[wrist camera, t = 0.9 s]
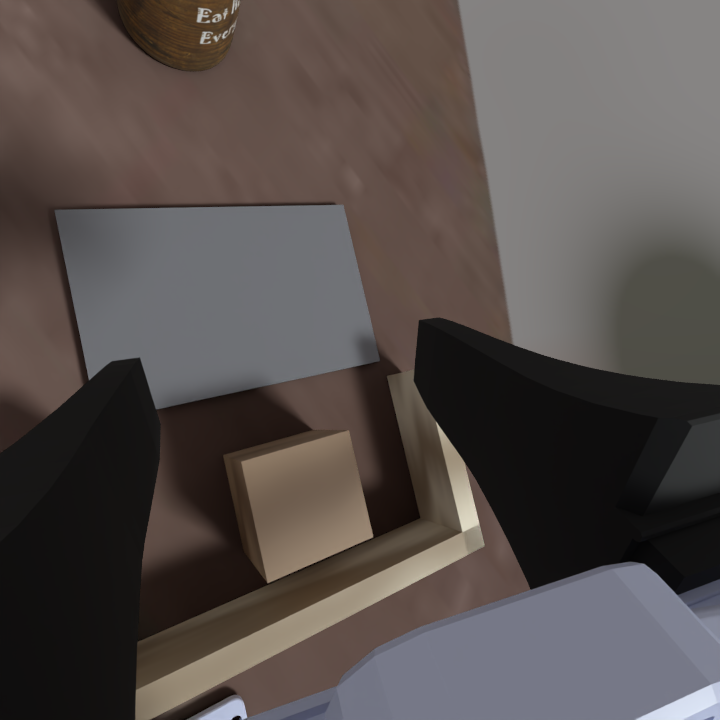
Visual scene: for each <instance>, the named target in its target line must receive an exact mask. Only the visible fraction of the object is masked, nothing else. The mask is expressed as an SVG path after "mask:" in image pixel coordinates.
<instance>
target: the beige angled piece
mask: <svg viewBox="0 0 720 720" xmlns="http://www.w3.org/2000/svg"><path fill="white" fill-rule="evenodd" d="M387 379H388V383H389V388H390V392H391V396H392V400H393V404H394V409H395V413H396V417H397V421H398V426H399V430H400V434H401V438H402V442H403V447H404V451H405V455H406V459H407V464H408V468H409V472H410V476H411V480H412V485H413V489H414V493H415V497H416V501H417V506H418V510H419V514H420V519H417V520H415V521H413V522H411V523H408V524H406V525H404V526H401V527H399V528H397V529H395V530H392V531H390V532H388V533H385V534H383V535H381V536H379V537H376V538H374V539H372V540H369V541H367V542H365V543H363V544H360V545H358V546H356V547H353V548H351V549H349V550H347V551H344V552H342V553H340V554H337V555H335V556H333V557H331V558H328V559H326V560H324V561H321V562H319V563H317V564H315V565H312V566H310V567H308V568H305V569H303V570H301V571H299V572H296V573H294V574H292V575H289V576H287V577H285V578H283V579H280V580H278V581H276V582H274V583H271V584H269V585H267V586H264V587H262V588H260V589H258V590H255V591H253V592H251V593H248V594H246V595H244V596H242V597H239V598H237V599H235V600H232V601H230V602H228V603H226V604H223V605H221V606H219V607H216V608H214V609H212V610H210V611H207V612H205V613H203V614H200V615H198V616H196V617H194V618H191V619H189V620H187V621H184V622H182V623H180V624H178V625H175V626H173V627H171V628H168V629H166V630H164V631H162V632H159V633H157V634H155V635H152V636H150V637H148V638H146V639H143V640H141V641H139V642H137V670H136V706H135V720H151V719H152V718H154V717H156V716H158V715H160V714H162V713H164V712H166V711H168V710H170V709H172V708H174V707H176V706H177V705H179V704H181V703H183V702H185V701H187V700H189V699H191V698H193V697H195V696H197V695H199V694H201V693H203V692H204V691H206V690H208V689H210V688H212V687H214V686H216V685H218V684H220V683H222V682H224V681H226V680H228V679H229V678H231V677H233V676H235V675H237V674H239V673H241V672H243V671H245V670H247V669H249V668H251V667H253V666H254V665H256V664H258V663H260V662H262V661H264V660H266V659H268V658H270V657H272V656H274V655H276V654H278V653H280V652H281V651H283V650H285V649H287V648H289V647H291V646H293V645H295V644H297V643H299V642H301V641H303V640H305V639H306V638H308V637H310V636H312V635H314V634H316V633H318V632H320V631H322V630H324V629H326V628H328V627H330V626H332V625H333V624H335V623H337V622H339V621H341V620H343V619H345V618H347V617H349V616H351V615H353V614H355V613H357V612H358V611H360V610H362V609H364V608H366V607H368V606H370V605H372V604H374V603H376V602H378V601H380V600H382V599H383V598H385V597H387V596H389V595H391V594H393V593H395V592H397V591H399V590H401V589H403V588H405V587H407V586H409V585H410V584H412V583H414V582H416V581H418V580H420V579H422V578H424V577H426V576H428V575H430V574H432V573H434V572H435V571H437V570H439V569H441V568H443V567H445V566H447V565H449V564H451V563H453V562H455V561H457V560H459V559H461V558H462V557H464V556H466V555H468V554H470V553H472V552H474V551H476V550H478V549H480V548H482V547H484V546H485V545H484V541H483V537H482V533H481V529H480V525H479V521H478V517H477V513H476V508H475V504H474V500H473V496H472V492H471V488H470V484H469V480H468V476H467V471H466V467H465V463H464V461H463V459H462V458H461V456H460V455H459V453H458V452H457V451H456V449H455V448H454V446H453V445H452V444H451V442H450V441H449V439H448V438H447V437H446V435H445V434H444V432H443V431H442V429H441V428H440V427H439V425H438V424H437V422H436V421H435V419H434V418H433V416H432V415H431V413H430V412H429V410H428V409H427V407H426V405H425V403H424V402H423V400H422V398H421V396H420V394H419V391H418V389H417V387H416V385H415V383H414V381H413V380H414V370H411V371H406V372H402V373H398V374H394V375H389V376H387Z"/></svg>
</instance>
